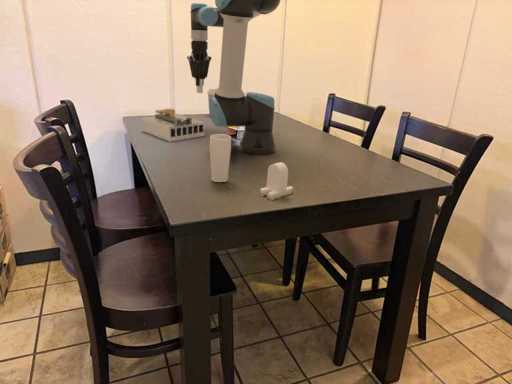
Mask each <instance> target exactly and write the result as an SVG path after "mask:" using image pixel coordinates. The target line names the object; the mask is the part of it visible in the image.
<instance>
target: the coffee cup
mask: <svg viewBox="0 0 512 384" xmlns="http://www.w3.org/2000/svg"><path fill="white" fill-rule="evenodd" d="M216 89H217V88H209V89H208V90H207V93H206V94H207V97H208V98H207V99H208V101H209V98H210V97H212V96H214V95H215V90H216ZM208 112H209V111H208ZM208 115H209V117H210V118H211V116H210V112H209V113H208Z"/></svg>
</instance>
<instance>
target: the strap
mask: <svg viewBox="0 0 512 384" xmlns="http://www.w3.org/2000/svg"><path fill="white" fill-rule="evenodd" d="M154 116H155V117H158V118H161V119H165V120H168V121H171V122H175V119H179V118H176V117H172V116H169V115H165V114H159V113H155V114H154ZM179 120H180V125H183V124H188V120H183V119H179Z"/></svg>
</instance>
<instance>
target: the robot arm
mask: <svg viewBox="0 0 512 384" xmlns="http://www.w3.org/2000/svg"><path fill="white" fill-rule="evenodd" d="M280 2H281V0H214V3H215V6H216V7H213V6H208V5H207V4H206V3H201V2H193V3H191V5H190V36H191V37H190V39H191V41H190V48H191V54H190V55H187V57H186V59H187V61H188V63H189V68H190V73H191V77H192V78H193V79H195V86H196V93H197V94H203V93H204V91H203V90H204V88H203V87H204V84H205V83H204V82H205V81H204V80H206V78H208V73H209V67H210V63H211V60H212V56H209V54H208V51H207V50H208V46H209V45H208V37H209V35H208V34H209V33H208V30H209V29H208V28H209V27H212V28H213V27H214V28H215V27H216V28H222V29H223V30H222V39H221V53H220V70H219V81H218V82H219V83H218V87H217V88H215V89H216V90H215V95H214V96H212V97H210V98H209V100H208V110H209V111H208V112H210V114H209V117H210V116H211V117H210V119H211V121H212V124H213V125H214V126H215V127H218V128H219V127H223V128H230V127H244V132H243V135H242V138H241V141H240V143H239V150H240V151H242V152H244V153H246V154H250V155H251V154H253V155H269V154H273V153H275V152H276V146H277V145H276V143H275V139H274V132H273V130H274V118H275V109H276V106H275V101H276V100H275V98H274V97H273V96H271V95H267V94H264V93H258V92H251V91H250V92H248V91H247V92H244V91H243V90H242V86H243V78H244V77H243V76H244V67H245V66H244V64H245V56H246V47H247V37H248V27H249V26H248V25H249V23H250V21H251V20H253V19H255V18H257V17H259V16H260V15H269V14H270V13H272V12H274V11H275V10H276V9H277V8H278V7H279V5H280V4H281V3H280ZM245 93H246V94H245Z"/></svg>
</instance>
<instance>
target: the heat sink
mask: <svg viewBox="0 0 512 384" xmlns="http://www.w3.org/2000/svg"><path fill="white" fill-rule="evenodd" d="M175 117H176V118H179V119H183V120H188V124H183V125H180V120H179V119H175V122H171V121H168V120H165V119H161V118H158V117H155V115H154V116H147V117H146V116H145V117H141V118H142V132H144V133H146V134H149V135H151V136H154V137H156V138H159V139H161V140H163V141H167V142H169V143H171V142H177V141H183V140H184V141H185V140H188V139H195V138H200V137H204V136H205V121H202V120H199V119H195V118H193V117H188V116H185V115H182V114H179V113H175Z"/></svg>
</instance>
